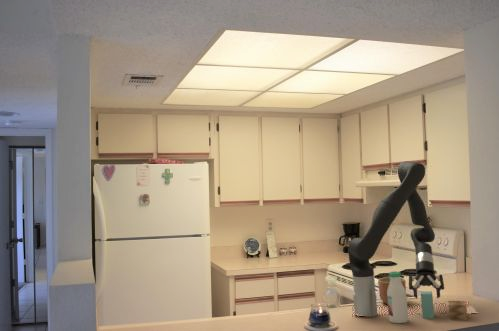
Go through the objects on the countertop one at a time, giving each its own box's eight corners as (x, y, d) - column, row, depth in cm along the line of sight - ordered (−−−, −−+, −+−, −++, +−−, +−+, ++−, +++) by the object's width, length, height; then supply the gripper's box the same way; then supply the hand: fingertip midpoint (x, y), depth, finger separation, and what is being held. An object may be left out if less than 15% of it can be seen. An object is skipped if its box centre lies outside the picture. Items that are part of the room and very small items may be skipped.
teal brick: (422, 318, 203) (420, 294, 204) (422, 315, 208) (420, 291, 208) (434, 318, 202) (432, 294, 202) (434, 315, 206) (432, 291, 206)
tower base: (450, 319, 199) (448, 304, 199) (449, 315, 205) (448, 300, 205) (467, 320, 197) (466, 305, 197) (466, 315, 203) (465, 301, 203)
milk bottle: (410, 319, 203) (406, 270, 204) (406, 324, 197) (401, 274, 197) (391, 317, 207) (387, 270, 208) (386, 323, 201) (382, 273, 201)
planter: (410, 305, 223) (408, 281, 224) (383, 307, 224) (381, 283, 224) (402, 298, 236) (401, 276, 236) (377, 300, 236) (375, 277, 236)
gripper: (407, 260, 218) (408, 292, 207) (441, 259, 213) (444, 292, 202) (408, 269, 223) (410, 301, 212) (442, 269, 218) (445, 302, 207)
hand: (427, 297), depth 207 cm, fingers open, 8 cm apart
